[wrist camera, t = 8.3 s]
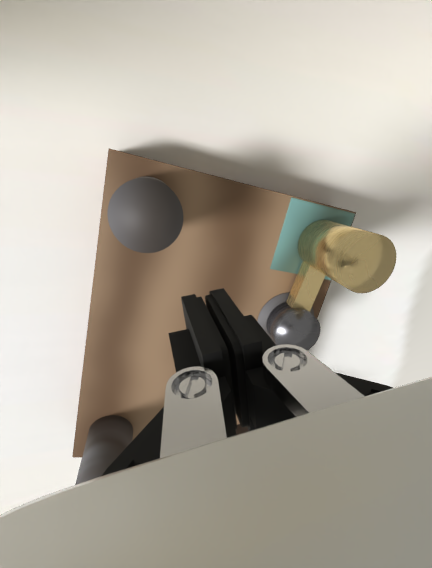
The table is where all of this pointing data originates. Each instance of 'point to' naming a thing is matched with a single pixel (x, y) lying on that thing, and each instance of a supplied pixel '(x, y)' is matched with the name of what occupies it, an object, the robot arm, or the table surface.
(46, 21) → the table surface
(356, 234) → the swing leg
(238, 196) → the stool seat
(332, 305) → the table surface
